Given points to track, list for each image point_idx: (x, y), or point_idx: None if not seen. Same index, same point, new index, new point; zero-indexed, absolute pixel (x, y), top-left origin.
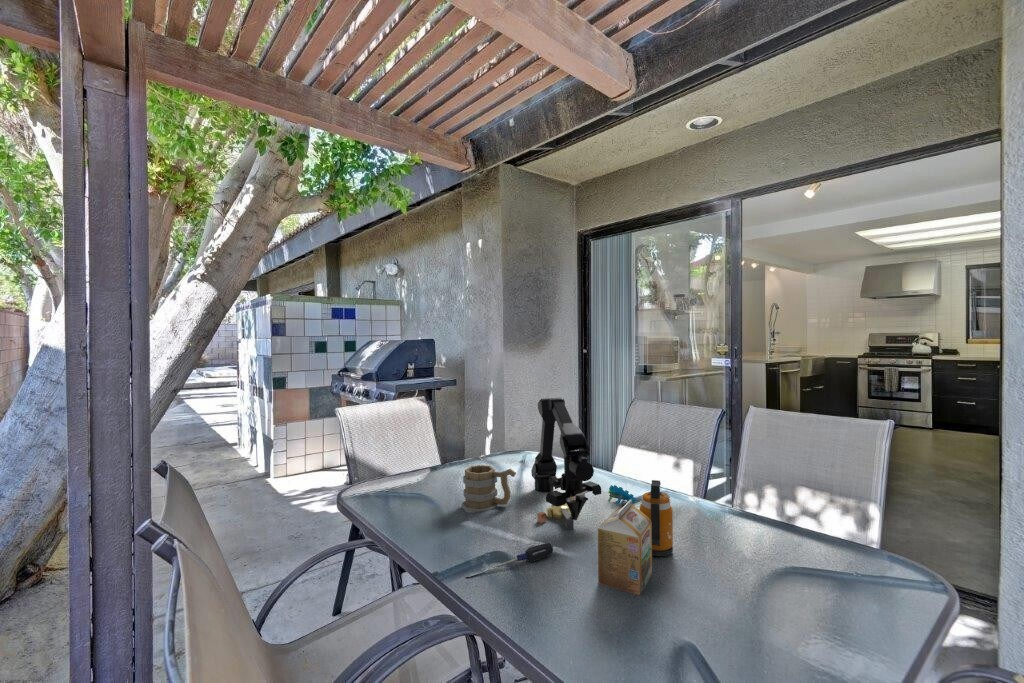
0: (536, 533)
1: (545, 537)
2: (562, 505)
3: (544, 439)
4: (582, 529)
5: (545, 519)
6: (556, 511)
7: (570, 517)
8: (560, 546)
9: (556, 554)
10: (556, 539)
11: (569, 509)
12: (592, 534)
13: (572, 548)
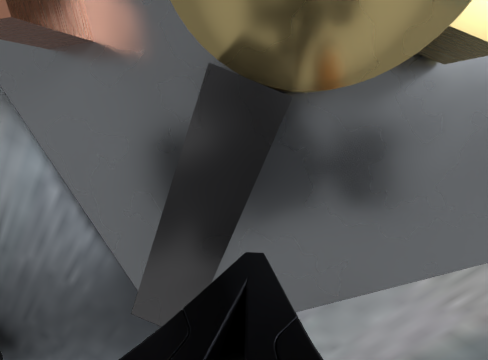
0: (8, 125)
1: (45, 202)
2: None
3: None
4: None
5: (63, 36)
6: (178, 4)
7: (183, 299)
8: (82, 314)
9: (40, 348)
10: (93, 253)
11: (180, 313)
12: (307, 322)
13: (124, 354)
